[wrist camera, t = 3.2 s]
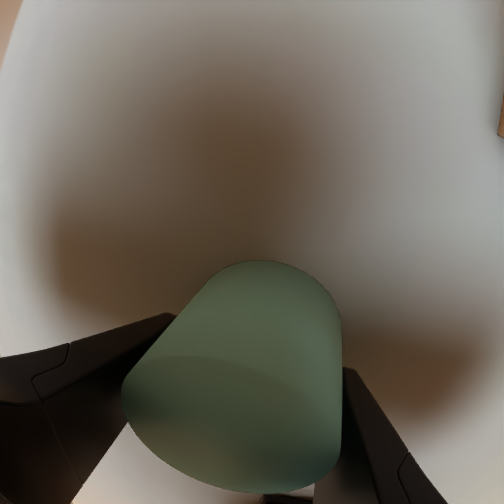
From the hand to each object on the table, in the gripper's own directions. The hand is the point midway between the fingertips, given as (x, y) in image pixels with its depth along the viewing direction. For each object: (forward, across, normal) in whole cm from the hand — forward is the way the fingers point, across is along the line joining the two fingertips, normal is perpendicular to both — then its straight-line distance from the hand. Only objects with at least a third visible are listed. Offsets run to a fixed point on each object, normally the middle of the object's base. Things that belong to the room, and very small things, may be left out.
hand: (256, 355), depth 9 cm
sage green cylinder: (+1, 0, 0) cm, 1 cm away
